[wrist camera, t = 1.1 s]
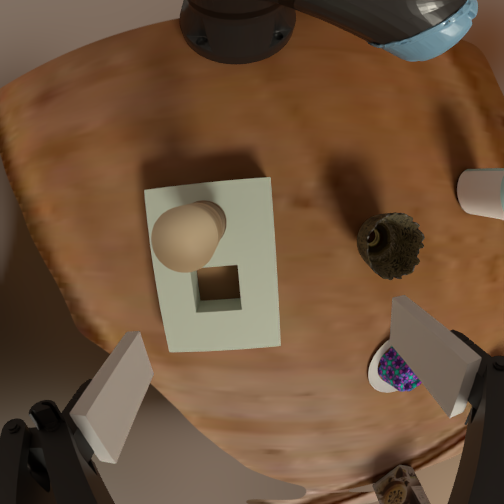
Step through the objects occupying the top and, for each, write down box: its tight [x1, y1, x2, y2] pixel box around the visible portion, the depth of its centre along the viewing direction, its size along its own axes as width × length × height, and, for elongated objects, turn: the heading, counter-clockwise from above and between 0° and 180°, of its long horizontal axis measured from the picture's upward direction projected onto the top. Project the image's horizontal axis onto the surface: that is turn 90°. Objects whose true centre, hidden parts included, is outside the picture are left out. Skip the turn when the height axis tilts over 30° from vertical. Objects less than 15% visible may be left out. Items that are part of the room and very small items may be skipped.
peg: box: [151, 200, 227, 273], centre depth 25 cm, size 4×4×14 cm
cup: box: [357, 213, 424, 280], centre depth 33 cm, size 8×7×8 cm
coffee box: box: [373, 465, 430, 504], centre depth 41 cm, size 9×6×16 cm
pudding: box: [368, 339, 422, 392], centre depth 39 cm, size 12×12×5 cm
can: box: [457, 168, 504, 220], centre depth 30 cm, size 7×7×12 cm
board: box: [144, 177, 281, 352], centre depth 35 cm, size 20×14×4 cm
